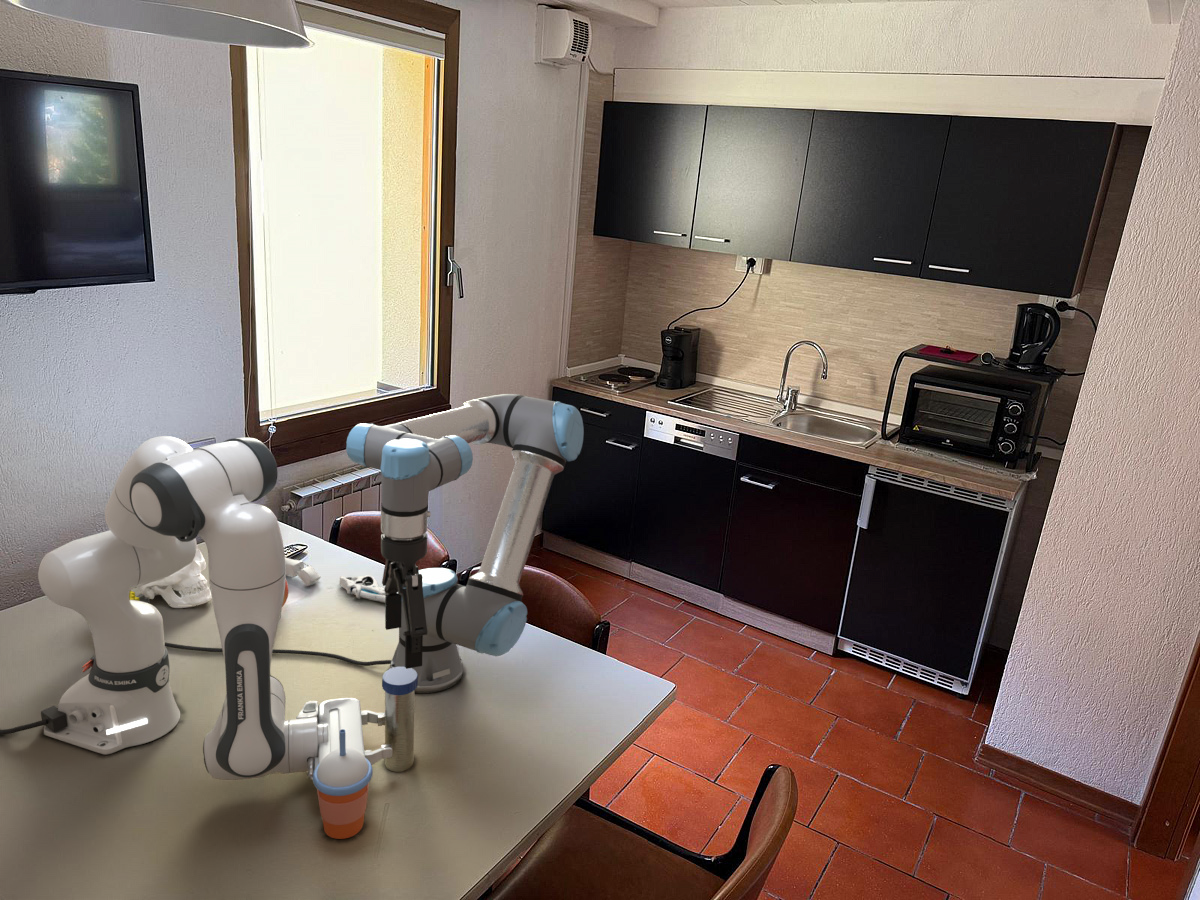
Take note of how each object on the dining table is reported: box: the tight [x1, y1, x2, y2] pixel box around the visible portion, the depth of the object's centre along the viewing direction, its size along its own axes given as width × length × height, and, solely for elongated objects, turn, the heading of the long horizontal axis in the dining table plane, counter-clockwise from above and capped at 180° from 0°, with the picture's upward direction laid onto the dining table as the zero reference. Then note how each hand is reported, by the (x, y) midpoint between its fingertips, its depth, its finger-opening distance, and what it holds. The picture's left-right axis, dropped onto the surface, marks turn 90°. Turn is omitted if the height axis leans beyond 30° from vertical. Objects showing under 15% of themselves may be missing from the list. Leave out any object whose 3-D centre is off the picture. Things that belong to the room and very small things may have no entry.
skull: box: [137, 545, 212, 609], centre depth 203 cm, size 13×22×16 cm, turn 73°
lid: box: [381, 667, 418, 695], centre depth 149 cm, size 6×6×2 cm
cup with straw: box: [312, 729, 374, 840], centre depth 136 cm, size 9×9×18 cm
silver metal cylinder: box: [384, 690, 416, 773], centre depth 152 cm, size 5×5×18 cm
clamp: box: [285, 556, 322, 587], centre depth 219 cm, size 20×4×7 cm, turn 62°
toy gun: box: [338, 574, 387, 604], centre depth 214 cm, size 18×2×10 cm
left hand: (389, 734), depth 152 cm, fingers open, 8 cm apart
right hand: (403, 646), depth 148 cm, fingers open, 13 cm apart
